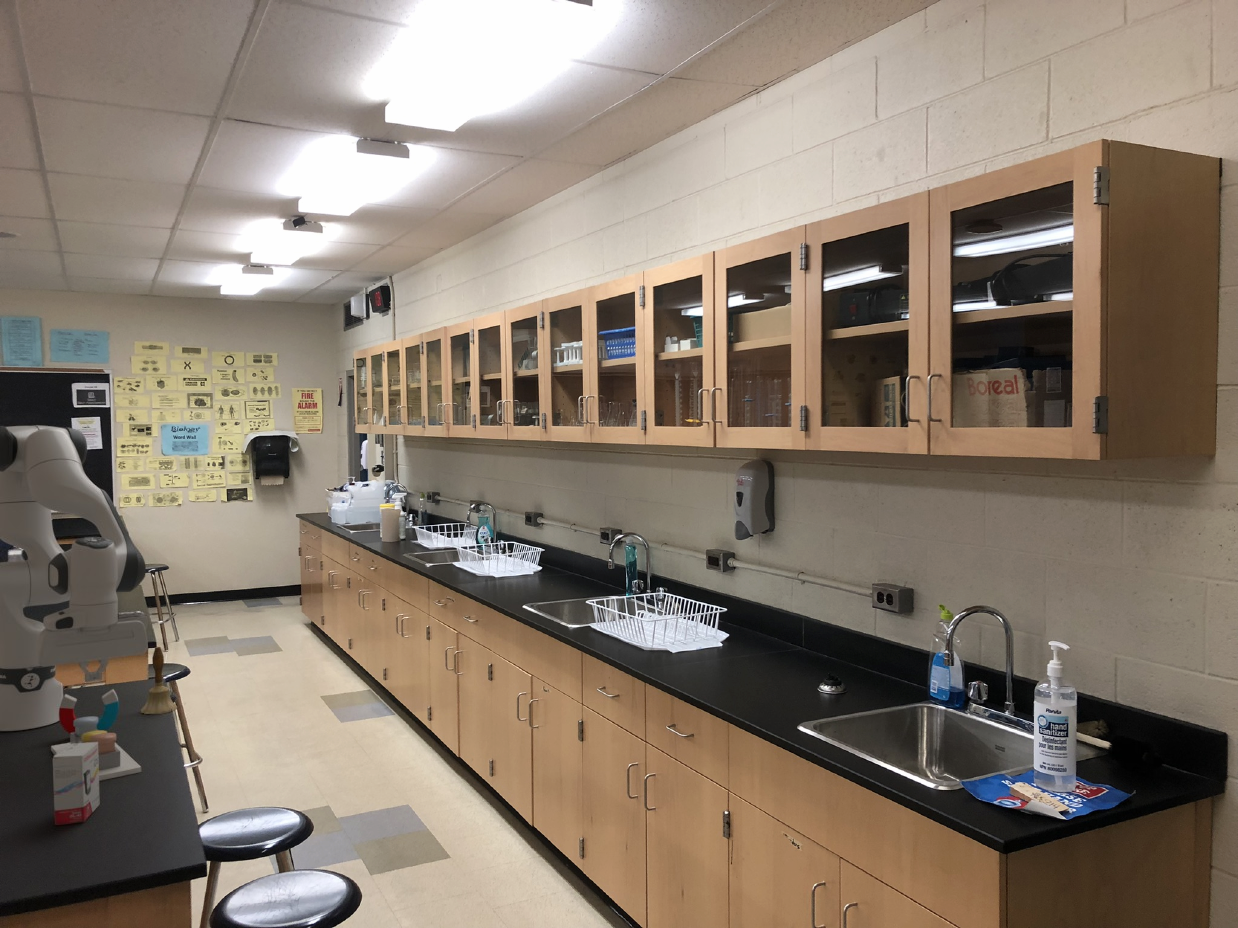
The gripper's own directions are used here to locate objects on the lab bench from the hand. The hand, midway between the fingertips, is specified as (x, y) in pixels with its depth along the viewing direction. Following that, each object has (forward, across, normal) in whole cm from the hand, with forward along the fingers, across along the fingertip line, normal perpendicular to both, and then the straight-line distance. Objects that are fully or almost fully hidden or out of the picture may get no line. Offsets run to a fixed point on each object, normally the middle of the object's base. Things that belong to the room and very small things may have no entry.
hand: (93, 680), depth 189 cm
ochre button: (+15, 0, +1) cm, 16 cm away
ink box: (+16, +9, +32) cm, 37 cm away
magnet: (+17, -3, -19) cm, 26 cm away
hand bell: (+18, -21, -32) cm, 42 cm away
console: (+17, 0, +1) cm, 17 cm away
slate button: (+14, 0, -7) cm, 16 cm away
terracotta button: (+14, 0, +9) cm, 16 cm away
